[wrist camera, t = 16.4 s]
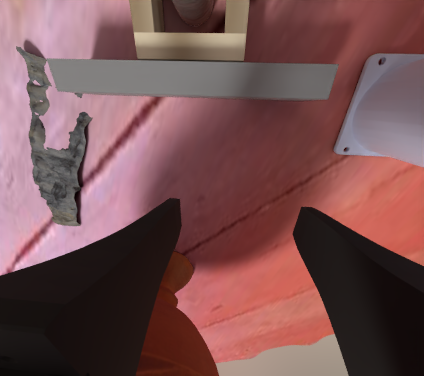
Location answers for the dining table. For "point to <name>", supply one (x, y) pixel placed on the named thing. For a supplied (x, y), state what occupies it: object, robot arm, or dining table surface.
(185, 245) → the dining table surface
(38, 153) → the driftwood
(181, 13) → the dowel
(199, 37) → the socket block
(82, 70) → the backstop wall
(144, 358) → the goblet
